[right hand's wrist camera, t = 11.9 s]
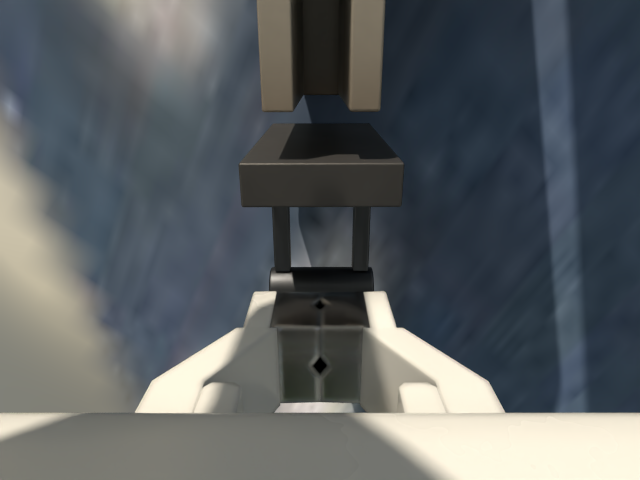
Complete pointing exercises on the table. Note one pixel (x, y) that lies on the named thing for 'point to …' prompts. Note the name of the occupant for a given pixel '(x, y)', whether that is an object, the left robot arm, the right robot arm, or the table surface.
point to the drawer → (321, 132)
